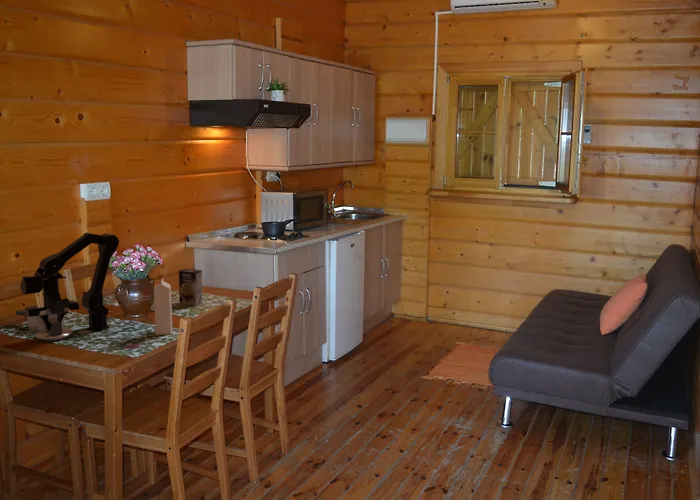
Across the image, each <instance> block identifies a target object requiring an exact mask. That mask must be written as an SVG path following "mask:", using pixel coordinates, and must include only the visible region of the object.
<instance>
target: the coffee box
mask: <svg viewBox="0 0 700 500" xmlns="http://www.w3.org/2000/svg"><path fill="white" fill-rule="evenodd" d="M178 290H179V295H178V296H179V297H178V298H179V299H178V300H179V305H182V306H183V305H184V306H191V305H192V306H194V307H197V306H199V305H202V304H203V270H202V269H201V270H200V269H192V268H191V269H189V268H185V269H181V270H178ZM201 303H202V304H201Z"/></svg>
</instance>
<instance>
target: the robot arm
mask: <svg viewBox="0 0 700 500" xmlns="http://www.w3.org/2000/svg"><path fill="white" fill-rule="evenodd" d="M91 244H95V245H97V250H98V257H97V262H96V265H95V269H94V273H93V277H92V280H91V283H90V288H89V289H88V290H87V291H85V290H84V291H83V294H82V298H81V300H80V301H81V306H82V307H83V309H85V310H86V311H87V314H88V327H86V329H87V330H91V331H99V332H100V331H103V330H105V329H108V328H110V325H108V318H107V317H108V316H107V315H108V314H109V311H110V309H109V308H107V307H106V306H105V305H104V295H103V289H104V285H105V281H106V278H107V274H108V270H109V266H110V262H111V258H112V257H113V255H114V254H116V251H117V249H118V247H119V245H120V239H119V237H118V236H116V235H115V234H111V233H107V232H105V233H102V234H96V233H91V232H85V233H83V234H81V236H80V237H77V239H75V240H74V241H72V242H71V243H70V244H68V245H67V246H65V247H64V248H62V249H61V250H60V251H59V252H57V253H53V254H50V255H49V256H46V257H45V258H43V259H41V260H40V262H39V267H38V268H37V270H36V271H35V272H34V274H33V275H29V276H28V275H27V276H25V275H24V276H22V278H21V281H20V282H21V283H20V284H19V286H20V292H21V293H22V295H23V296H24V295H25V296H27V295H32V294H38V293H41V292H42V297H43V302H42V304H43V305H42V306H41V307H40V306H39V307H38V306H37V305H31V306H30V305H29V306H26V307H25V308H24V310H25V314H26V315H27V316H26V317H28V316H29V317H33V316H39V317H41V319H42V320H43V322H44V324H45V326H46V328H47V330H48V331H49V322H48V315H47V314H46V311H51V313H53V314H56V313H57V319H58V320H59V321H61V322H62V320H63V317H64V318H65V316H66V314H68V313H69V312H70V311H76V310H77V311H78V310H79V309H80V305H79V303H78V301H75V300H74V299H72V300H70V299H69V298H68V297H67V298H62V296H61V293H60V283H59V282H60V281H59V280H60V279H62V280H63V279H64V278H65V276H64V275H62V274H61V273H60V271H61V270H62V269H63V268H64V267H65V265H66V263H67V262H68V261H69V260H71V259H72V258H73V257H75V256H76V255H78V254H79V253H80V252H81V251H83V250H84V249H85V248H87V247H88V246H89V245H91ZM69 310H70V311H69Z"/></svg>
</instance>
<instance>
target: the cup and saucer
mask: <svg viewBox="0 0 700 500" xmlns="http://www.w3.org/2000/svg"><path fill="white" fill-rule="evenodd" d="M48 322H49V331H48V330H47V328H46V326H45V330H42V331H39V332H37V331H36V333H35V335H34V336H35V338H36V339H38V340H41V341H43V342H44V341H45V342H53V341H61V340H64V339H66V338H68V337H69V336H71V335H72V334H73V330H72V329H70V328H66V327H62V322H61V321H59V320H58V319H56V318H54V317H52V318H48Z"/></svg>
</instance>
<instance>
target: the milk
mask: <svg viewBox="0 0 700 500" xmlns="http://www.w3.org/2000/svg"><path fill="white" fill-rule="evenodd" d="M160 280H161V281H160V282H158V283H157V284H156V285H154V288H153V297H154V298H153V302H154V324H155V325H154V328H155V329H154V330H155V336H156V335H171V334H172V333H173V332H172V331H173V311H172V308H173V307H172V286H171V284H169V283H168V282H166V281H164V277H162V278H161V279H160Z"/></svg>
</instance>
